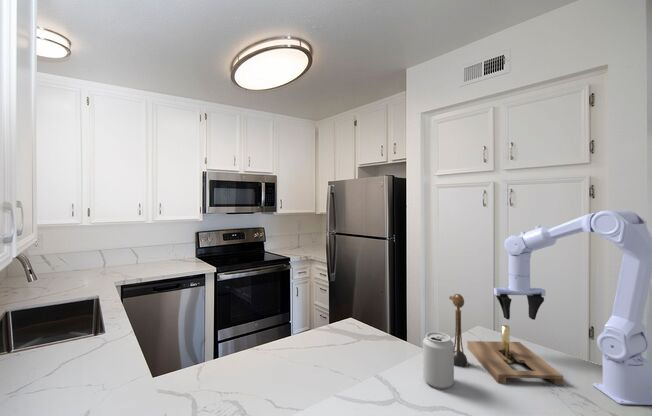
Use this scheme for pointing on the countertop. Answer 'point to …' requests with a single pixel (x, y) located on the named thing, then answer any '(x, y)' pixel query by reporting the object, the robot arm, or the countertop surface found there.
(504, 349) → the peg
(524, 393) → the countertop surface
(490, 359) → the keyhole plate
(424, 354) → the can
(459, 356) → the wooden tabletop sculpture
